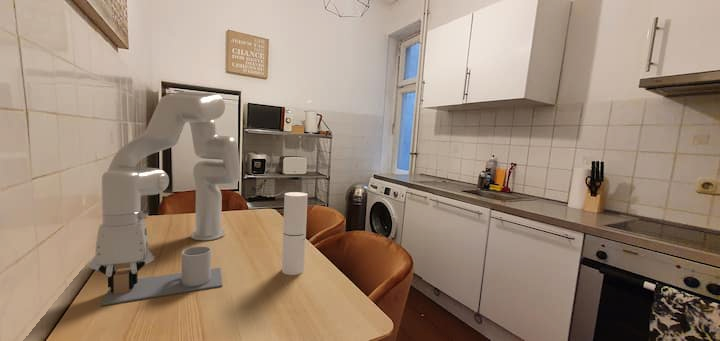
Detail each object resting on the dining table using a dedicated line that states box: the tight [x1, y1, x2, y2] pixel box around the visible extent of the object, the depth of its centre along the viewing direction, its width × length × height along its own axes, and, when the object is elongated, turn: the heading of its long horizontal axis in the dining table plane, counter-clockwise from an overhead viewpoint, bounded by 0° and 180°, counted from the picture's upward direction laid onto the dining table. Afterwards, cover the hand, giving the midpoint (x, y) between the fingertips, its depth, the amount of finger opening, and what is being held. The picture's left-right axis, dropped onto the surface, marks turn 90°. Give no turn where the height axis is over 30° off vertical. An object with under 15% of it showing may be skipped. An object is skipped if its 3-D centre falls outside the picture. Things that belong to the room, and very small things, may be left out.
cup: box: [181, 245, 212, 287], centre depth 82 cm, size 7×10×9 cm
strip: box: [100, 267, 223, 306], centre depth 80 cm, size 12×26×5 cm, turn 118°
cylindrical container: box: [281, 191, 308, 276], centre depth 93 cm, size 7×7×25 cm
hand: (123, 287), depth 75 cm, fingers closed on strip, 3 cm apart
